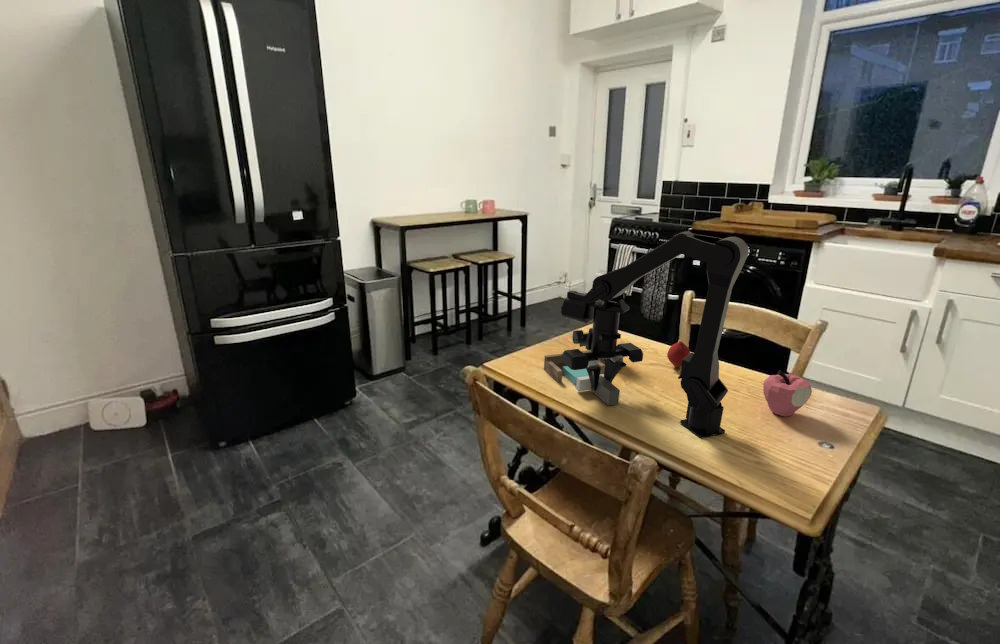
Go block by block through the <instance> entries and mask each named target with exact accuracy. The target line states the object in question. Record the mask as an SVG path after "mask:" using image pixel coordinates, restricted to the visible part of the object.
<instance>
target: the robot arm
mask: <svg viewBox="0 0 1000 644" xmlns="http://www.w3.org/2000/svg"><path fill="white" fill-rule="evenodd" d="M749 251H750V250H749V246H748V244H747V243H746V242H745V240H744V239H742V238H740V237H737V236H728V237H725V238H721V237H716V236H709V235H703V234H697V233H693V232H691V231H682V232H679V233H676V234H674V235H673V236H672V237H671V238H670V239H668V240H667V241H665V242H664V243H662V244H660V245H658V246H656V247H654V248H653V249H652V250H650V251H649V252H647V253H645V254H643V255H642V256H639V257H638V258H637V259H635V260H633V261H632V262H630V263H629V264H627V265H625V266H623V267H620V268H617V269H614V270H611V271H609V272H607V273H603V274H601V275H597V276H596V277H595V278H594V279H593V281H592V285H591V286H592V287H591V289H589V290H588V292H587V293H584V292H579V291H577V290H570V291H567V294H566V297H565V299H564V301H563V304H562V306H561V309H560V313H561V316H562V318H564V319H566V320H571V321H575V322H579V323H582V324H583V323H584V324H587V323H589V322H590V321H591V320H593V321H592V327H591V328H589V330H588V332H586V333H584V331H583V330H582V329H580V330H578V329H577V330H573V331H572V338H571V339H572V343H573V344H574V345H577V344H579V345H578V346H579V348H581V347H584V348H585V350H586V351H587V350H590V351H591V353H583V352H581V351H582V350H580V349H579V348H575V349H574V348H573V349H567V350H566V349H565V350H564V351H563V352H562V353H561V354H562V359H561V361H562V362H563V363H564V364H566V365H567V366H568V367H569V368H570V369H571V370H580V369H585V368H586V370H587V373H588V375H589V379H590V382H591V386H592V389H593V390H594V391H595V390H596V389H597V386H598V381H599V376H600V371H601V368H600V367H599V366H598V360H603V359H604V362H603V364H604V365H605V369H604V378H605V379H607V380H608V381H609V382H610V383H611V382H612V383H613V381H614V379H615V377H616V376H617V375H618V374H619V373H620V371H621V370H622V369H623V368H624V367H627V363H626V362H624V358H626V357H628V360H629V361H630V362H631V363H639V362H643V359H644V352H643V349H641V348H640V347H638V346H637V345H636V344H633V343H632V342H623V343H617V342H618V340H620V339H622V337H621V336H622V334H621V333H619V324H620V315H621V314H624V313H626V312H628V311H630V309H631V307H630V306H629V305H628V304H627V303H626V302H625V300H624V299H620V300H618V301H613V299H615V298H618V297H619V296H621V295H622V294H624V293H625V292H627V290H629V289H630V288H631V287H633V285H635V283H636V282H637V281H639V280H640V279H641V278H642V277H644V276H646V275H649V274H650V273H651V272H654V271H655V270H657V269H659V268H660V267H662V266H663V265H665V264H667V263H669V262H671V261H672V260H674V259H676V258H678V257H680V256H681V255H683V256H686V257H689V258H691V259H695V260H697V261H700V262H704V263H706V274H707V275H706V276H707V282H708V288H707V292H706V298H705V301H704V306H703V311H702V316H701V321H700V325H699V329H698V334H697V339H696V343H695V349H694V352H692V351H690V354H689V355H688V356H687V357H685V358H684V359H683V360H682V365H681V367H680V368H681V369H680V374H679V376H678V377H677V379H679V380H680V387H681V389H682V390H683V392H685V394H686V398H687V408H686V415H685V418H684V419H680V421H679V423H680V424H681V425H683V427H685V428H686V429H687V430H689V431H690V432H692V433H693V434H695V435H696V436H697V437H698V438H701V439H702V438H707V437H712V436H716V435H722V434H725V433H726V430H725V428H722V427H721V424H722V418H723V414H724V410H725V409H724V406H723V405H722V402H721V401H722V400H723V399H724V398H725V396H726V395H727V394H728V392H729V390H728V388H727V387H726V385H725V384H724V383H723V381H722V380H721V378H720V360H719V355H718V354H719V353H718V352H719V347H720V342H721V339H722V335H723V329H724V325H725V321H726V316H727V312H728V308H729V303H730V299H731V295H732V290H733V287H734V285H735V283H736V281H737V279H738V277H739V275H740V273H741V271H742V269H743V267H744V265H745V263H746V260H747V258H748V256H749ZM600 301H602V302H600Z"/></svg>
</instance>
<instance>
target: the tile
mask: <svg viewBox="0 0 1000 644" xmlns="http://www.w3.org/2000/svg"><path fill="white" fill-rule="evenodd" d="M562 376H564V377H565V378H566V379H567V380H568V381H569V382H571V383H572V384H573V386H576V382H577V377H585V376H589V375H588V373H587V370H586V368H585V369H580V370H571V369H570V368H569V367H568V366H564V367H563V369H562Z"/></svg>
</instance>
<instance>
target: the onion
mask: <svg viewBox="0 0 1000 644" xmlns="http://www.w3.org/2000/svg"><path fill="white" fill-rule="evenodd" d="M690 353H691V351H690V348H689V347H688V346H687V345H686V344H685V343H684V341H683V340H681V339H678V340H677V342H675V343H674V344H672V345H671V346H670V347H669V349H668V351H667V353H666V354H667V359H668V361H669V362H670V363H671V364H672V365H673V366H674V367H675V368H678V369H679V368H681V365H682V360H683V359H684V358H685V357H687V356H688V355H689V354H690Z"/></svg>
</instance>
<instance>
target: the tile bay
mask: <svg viewBox="0 0 1000 644" xmlns="http://www.w3.org/2000/svg"><path fill="white" fill-rule="evenodd" d="M580 351H581V352H583V353H591V351H590V350H587V349H586V350H580ZM561 359H562V353H555V354H549V355H548V354H546V355H544V360H543V363H544V364H543V370H544V371H545V372H546V373H547V374H548V375H549V376H550V377H551V378H552V379H553V380H554V381H555V382H556V383H561V382H562V381H563V379H562V378H563V374H562V371H563V367H564V366H567V365H566V364H564V363H563V362H562V361H561ZM598 366H599V367H600V368H601V371H600V374H604V369H605V363H604V362H602V361H599V360H598Z"/></svg>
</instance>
